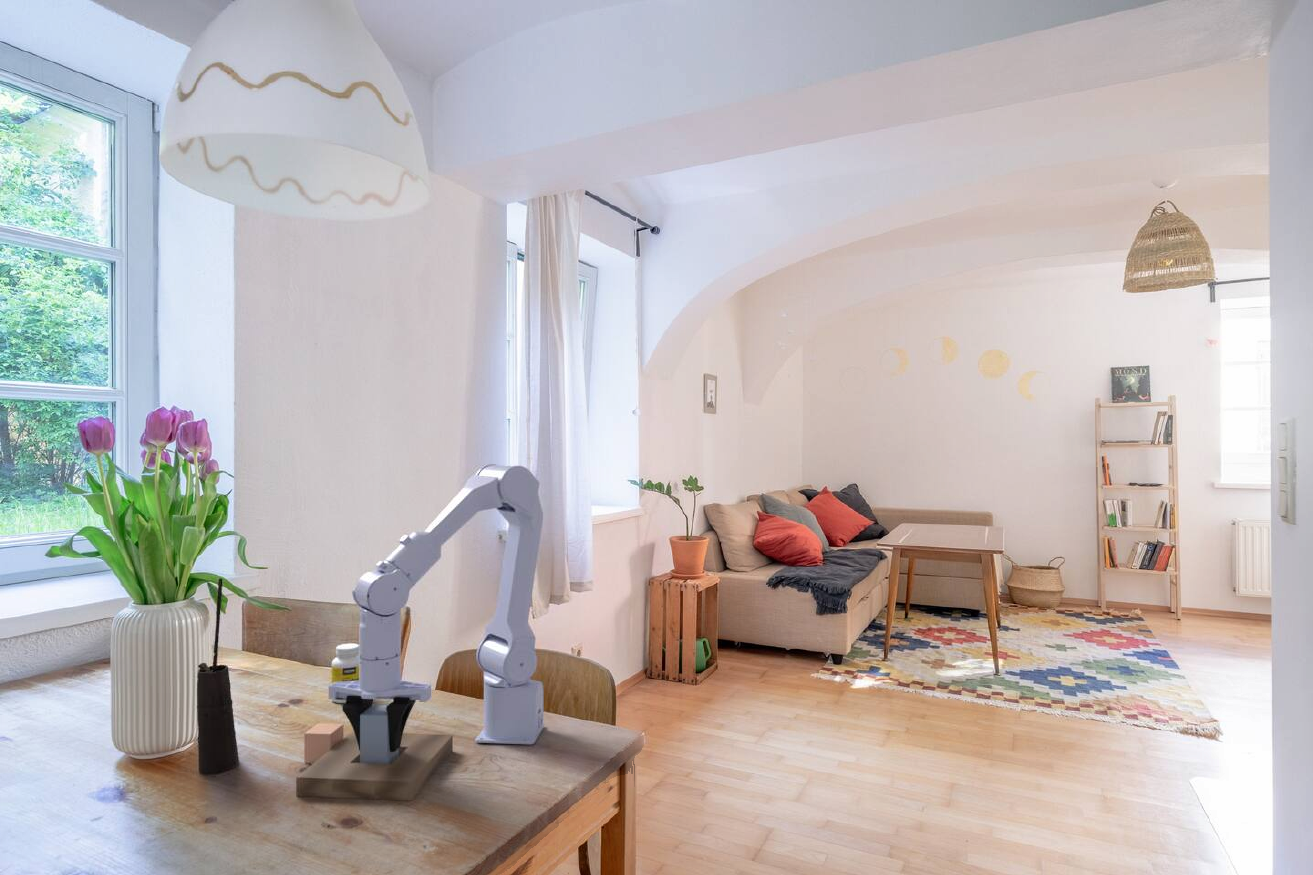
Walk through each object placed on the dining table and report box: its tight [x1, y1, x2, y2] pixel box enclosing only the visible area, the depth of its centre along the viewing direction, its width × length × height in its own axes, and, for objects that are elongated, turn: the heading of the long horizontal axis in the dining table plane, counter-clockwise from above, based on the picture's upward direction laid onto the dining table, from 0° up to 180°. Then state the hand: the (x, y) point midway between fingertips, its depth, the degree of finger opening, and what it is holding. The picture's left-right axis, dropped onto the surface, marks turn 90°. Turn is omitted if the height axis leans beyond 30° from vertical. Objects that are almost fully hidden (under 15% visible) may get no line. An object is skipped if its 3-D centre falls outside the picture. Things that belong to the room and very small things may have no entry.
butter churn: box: [196, 577, 240, 775], centre depth 111 cm, size 9×10×28 cm
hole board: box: [295, 730, 454, 801], centre depth 109 cm, size 16×16×2 cm
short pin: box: [303, 722, 344, 764], centre depth 114 cm, size 4×4×4 cm
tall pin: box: [360, 704, 399, 764], centre depth 109 cm, size 4×4×8 cm
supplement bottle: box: [330, 642, 359, 704], centre depth 140 cm, size 5×5×10 cm
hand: (379, 748), depth 109 cm, fingers closed on tall pin, 4 cm apart
